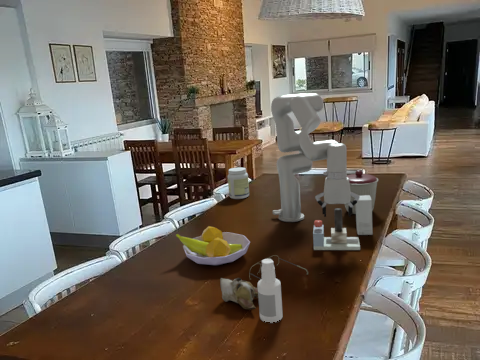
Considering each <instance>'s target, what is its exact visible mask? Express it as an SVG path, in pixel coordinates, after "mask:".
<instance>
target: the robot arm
mask: <svg viewBox="0 0 480 360" xmlns="http://www.w3.org/2000/svg"><path fill="white" fill-rule="evenodd" d="M323 108H324V100H323V98H322V97H321V95H319V93H315V92H314V93H308V92H307V93H295V94H284V95H279V96H276V97H274V98H273V99H272V101H271V105H270V112H271V115H272V117H273V121H274V123H275V130H276V133H275V134H276V141H277V147H278V150H279V151H280V152H281V153H290V154H286V155H285V154H284V155H283V156H280V157H279V158H278V159H277V161H276V170H277V173H278V179H279V190H280V191H279V194H280V209H274V210H272V215H274V216H278V220H279V221H281V222H285V223H295V222H300V221H303V220H304V219H305V215H304V213H302V206H301V188H300V187H301V186H300V180H299V179H297V177H296V176H295V175H298V174H303V173H308V172H310V171H311V170H312V168H313V162H317V161H323V160H326V171H325V172H324V171H323V176H326V177H325V180H324V184H323V185H324V187H323V188H324V189H323V191H322V192H320V193H318V194H316V195H315V197H314V198H315V201H316V202H317V204H318V205H320V207H321V208H322V209H321V210H322V212H321V213H322V215H323V217H324V218H326V217H327V205H345V204H348V205H349V206H348V211H349V212H348V211H347V212H348V217H349V218H351V217H352V216H351V215H353V214H352V207H353V206H354V205H355V204H356V203H357V201H358V200H359V198H360V196H359V195H357V194H355V193H353V192H351V191H350V183H349V178H348V177H347V175H348V174H347V170H348V168H347V165H348V163H347V162H348V161H347V160H348V158H347V156H348V155H347V152H348V151H347V145H346V144H345V143H342V142H338V141H336V140H334V139H327V140H320V141H312V140H311V137H310V135H309V134H310V133H312V132H314V131H315V130H317V128H318V127H320V124H321V118H320V116H319V115H318V113H320V112H321V111H322V110H323ZM289 114H294V117H295V119H296V121H297V122H298V124H299V126H300V127H301V129H300V130H295V126H294V124H295V123H294V121H293V119H292V118H291V116H290V115H289ZM292 152H298V153H293V154H291V153H292ZM350 195H351V196H353V197H355V199H354V200H353V201H352V202H351V201H350ZM322 197H323V201H322V200H321V198H322Z"/></svg>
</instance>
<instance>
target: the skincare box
mask: <svg viewBox="0 0 480 360" xmlns="http://www.w3.org/2000/svg"><path fill="white" fill-rule="evenodd" d="M355 222H356V223H355V224H356V226H355V227H356V233H357V235H358V236H368V235H369V236H373V234H374V233H373V210H372V200H371V197H370V195H364V196H360V198H359V200H358V201H357V203H356V214H355Z"/></svg>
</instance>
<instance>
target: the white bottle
mask: <svg viewBox="0 0 480 360" xmlns="http://www.w3.org/2000/svg"><path fill="white" fill-rule="evenodd" d="M275 269H276V268H275V264H274V260H273V259H272V258H268V259H266V258H264V259H262V260H261V268H260V273H261V279H259V280H258V282H257V287H256V288H258V298H257V299H258V300H257V301H258V311H259V319H260V320H261V321H262V322H264V321H265V322H264V323H266V322H270V323H269V324H274V323H273V322H275V323H278V322H280V321H281V320H282V319H283V300H282V285H281V280H280V279H278V278H276V277H277V276H276V270H275ZM279 320H280V321H279ZM277 321H278V322H277Z"/></svg>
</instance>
